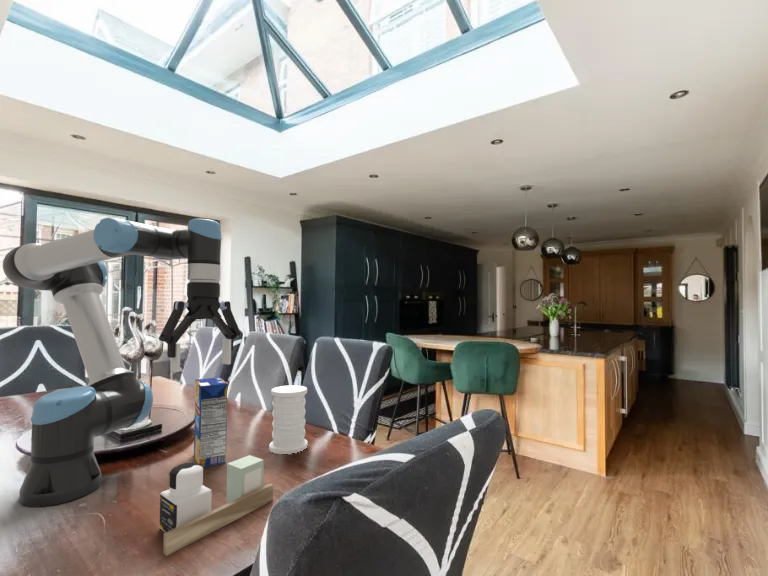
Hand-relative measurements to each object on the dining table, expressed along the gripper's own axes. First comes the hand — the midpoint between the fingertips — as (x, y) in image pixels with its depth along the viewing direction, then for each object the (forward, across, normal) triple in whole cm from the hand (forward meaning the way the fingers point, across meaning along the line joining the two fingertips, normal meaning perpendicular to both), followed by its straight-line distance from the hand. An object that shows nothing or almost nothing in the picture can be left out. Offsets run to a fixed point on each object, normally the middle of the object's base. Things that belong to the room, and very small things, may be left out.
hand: (202, 367), depth 99 cm
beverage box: (+29, -11, -13) cm, 34 cm away
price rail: (+29, +7, +20) cm, 36 cm away
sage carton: (+29, -1, +16) cm, 33 cm away
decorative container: (+29, -30, -1) cm, 42 cm away
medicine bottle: (+29, +12, +14) cm, 34 cm away
